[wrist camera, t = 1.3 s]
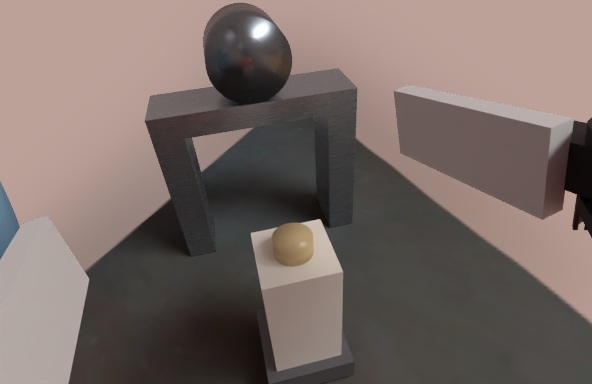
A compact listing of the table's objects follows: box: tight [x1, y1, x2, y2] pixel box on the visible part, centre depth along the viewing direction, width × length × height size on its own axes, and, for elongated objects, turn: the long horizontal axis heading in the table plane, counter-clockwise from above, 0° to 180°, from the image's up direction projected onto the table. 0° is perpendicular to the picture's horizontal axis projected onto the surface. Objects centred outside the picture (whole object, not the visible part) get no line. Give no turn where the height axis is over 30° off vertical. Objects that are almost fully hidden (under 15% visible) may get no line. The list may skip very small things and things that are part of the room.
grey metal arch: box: [145, 3, 357, 256], centre depth 34 cm, size 17×5×21 cm, turn 103°
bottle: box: [251, 219, 354, 384], centre depth 25 cm, size 6×6×12 cm
